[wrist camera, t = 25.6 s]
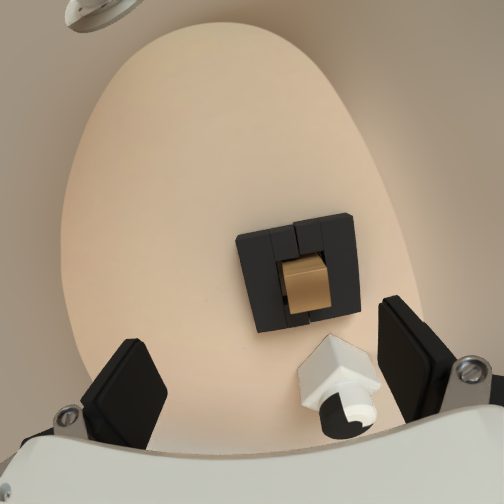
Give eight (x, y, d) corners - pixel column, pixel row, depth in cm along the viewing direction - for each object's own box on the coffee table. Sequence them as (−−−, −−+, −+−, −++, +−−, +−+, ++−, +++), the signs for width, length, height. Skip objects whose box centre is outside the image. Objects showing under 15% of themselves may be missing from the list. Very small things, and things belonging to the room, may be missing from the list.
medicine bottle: (334, 386, 35) (350, 450, 24) (296, 369, 35) (303, 437, 23) (367, 352, 33) (396, 414, 22) (329, 332, 33) (351, 398, 21)
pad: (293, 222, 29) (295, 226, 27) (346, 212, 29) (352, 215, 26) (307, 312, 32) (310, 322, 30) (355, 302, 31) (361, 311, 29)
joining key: (280, 257, 30) (283, 276, 25) (316, 250, 30) (327, 267, 24) (287, 289, 31) (290, 314, 26) (320, 283, 31) (331, 306, 25)
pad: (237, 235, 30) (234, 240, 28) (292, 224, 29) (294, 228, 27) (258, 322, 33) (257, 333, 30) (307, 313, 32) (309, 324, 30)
